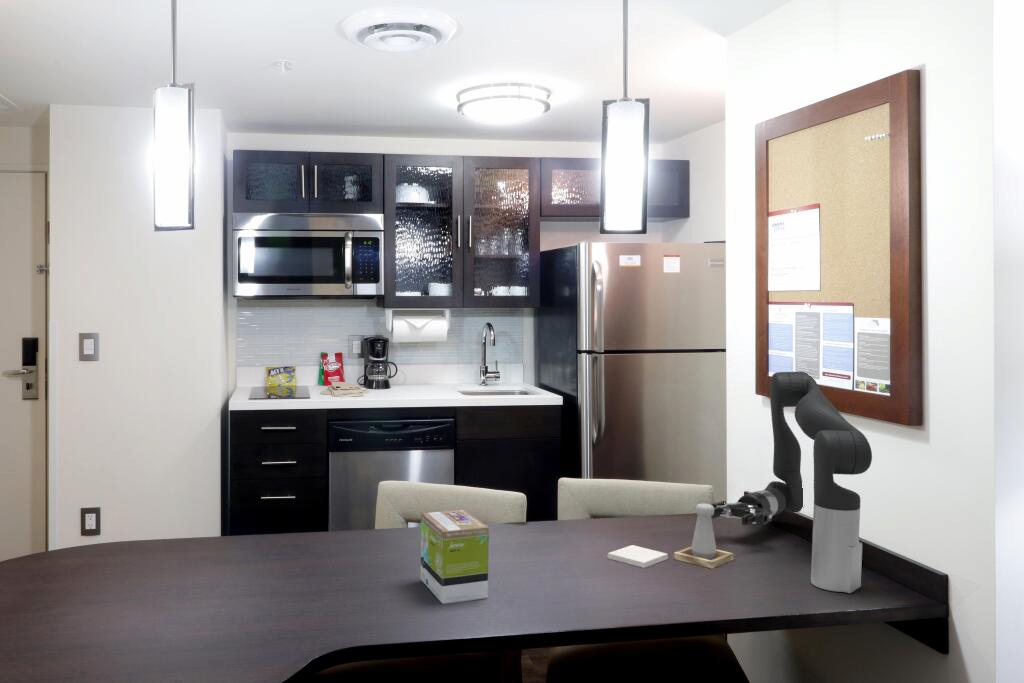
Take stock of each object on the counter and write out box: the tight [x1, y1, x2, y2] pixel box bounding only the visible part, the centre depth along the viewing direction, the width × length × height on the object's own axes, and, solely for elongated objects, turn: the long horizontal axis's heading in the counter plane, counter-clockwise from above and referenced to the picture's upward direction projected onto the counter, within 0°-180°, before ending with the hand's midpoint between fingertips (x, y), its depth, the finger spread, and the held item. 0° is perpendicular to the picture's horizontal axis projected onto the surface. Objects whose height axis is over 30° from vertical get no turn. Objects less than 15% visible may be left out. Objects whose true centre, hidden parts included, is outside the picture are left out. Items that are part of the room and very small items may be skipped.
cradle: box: [673, 545, 734, 570], centre depth 191 cm, size 10×10×2 cm
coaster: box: [607, 544, 669, 569], centre depth 191 cm, size 10×10×1 cm
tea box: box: [420, 509, 490, 605], centre depth 166 cm, size 15×10×15 cm, turn 23°
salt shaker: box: [691, 503, 718, 560], centre depth 191 cm, size 6×6×13 cm
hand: (727, 517), depth 199 cm, fingers open, 8 cm apart
